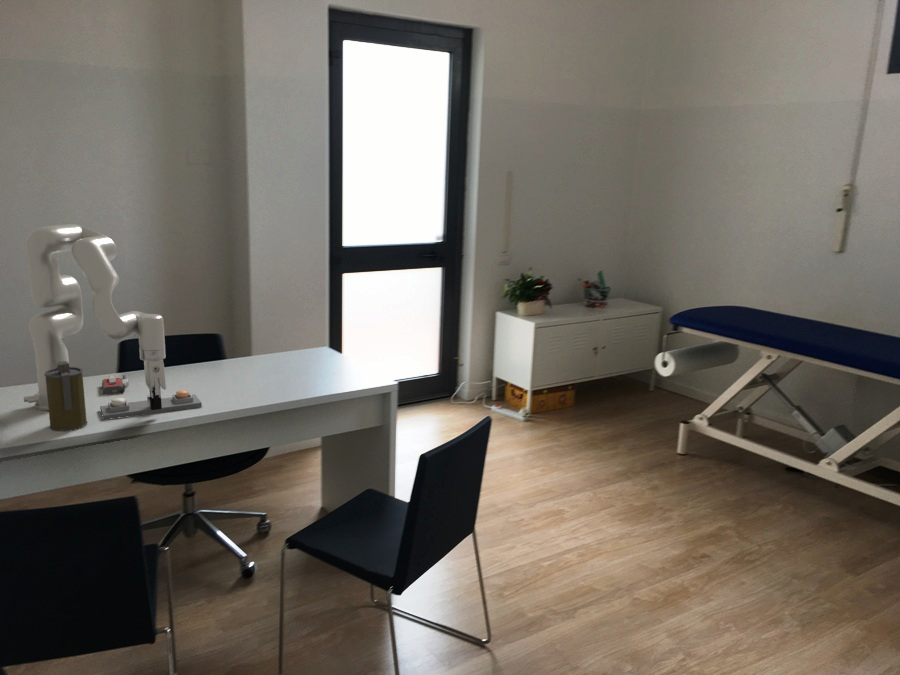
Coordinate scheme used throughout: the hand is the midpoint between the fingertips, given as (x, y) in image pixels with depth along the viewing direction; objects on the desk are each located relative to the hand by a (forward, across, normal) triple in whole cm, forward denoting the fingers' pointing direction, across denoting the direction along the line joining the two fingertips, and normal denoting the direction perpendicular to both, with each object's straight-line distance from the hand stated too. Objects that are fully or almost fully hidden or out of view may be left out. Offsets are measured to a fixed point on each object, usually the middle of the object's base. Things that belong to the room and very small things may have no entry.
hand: (156, 408), depth 236 cm
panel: (+3, +9, 0) cm, 10 cm away
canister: (+3, +3, +25) cm, 25 cm away
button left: (0, +9, +10) cm, 14 cm away
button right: (0, +9, -10) cm, 14 cm away
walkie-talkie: (+4, +40, +7) cm, 41 cm away
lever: (+1, +6, 0) cm, 6 cm away
